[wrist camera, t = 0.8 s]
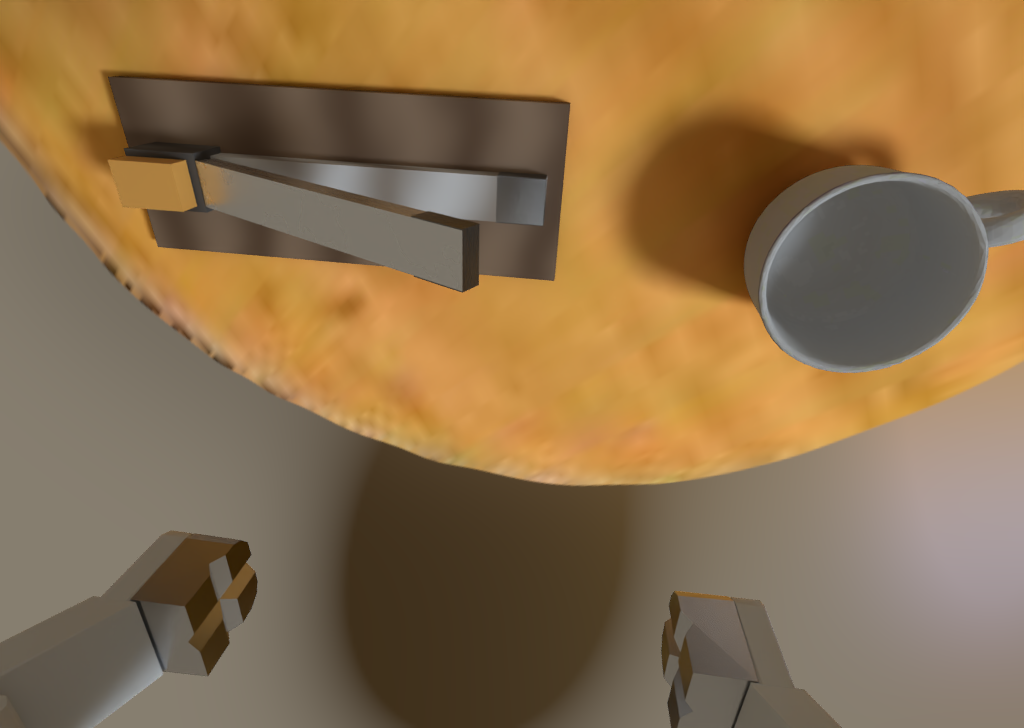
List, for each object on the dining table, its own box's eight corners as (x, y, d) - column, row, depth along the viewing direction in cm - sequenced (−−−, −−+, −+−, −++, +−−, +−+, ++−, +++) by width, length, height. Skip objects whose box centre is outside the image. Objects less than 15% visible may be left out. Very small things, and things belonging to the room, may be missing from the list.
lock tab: (138, 201, 35) (122, 206, 34) (124, 155, 33) (107, 159, 32) (197, 206, 35) (183, 211, 33) (185, 159, 33) (170, 164, 32)
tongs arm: (224, 204, 35) (206, 207, 35) (213, 157, 34) (194, 159, 33) (478, 285, 25) (462, 292, 25) (479, 223, 24) (462, 229, 23)
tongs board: (167, 242, 40) (130, 259, 37) (119, 76, 35) (71, 79, 32) (554, 275, 38) (551, 296, 35) (570, 102, 33) (568, 108, 29)
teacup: (734, 328, 39) (767, 388, 32) (720, 174, 34) (755, 207, 27) (959, 287, 35) (1049, 344, 28) (980, 110, 30) (1095, 128, 24)
